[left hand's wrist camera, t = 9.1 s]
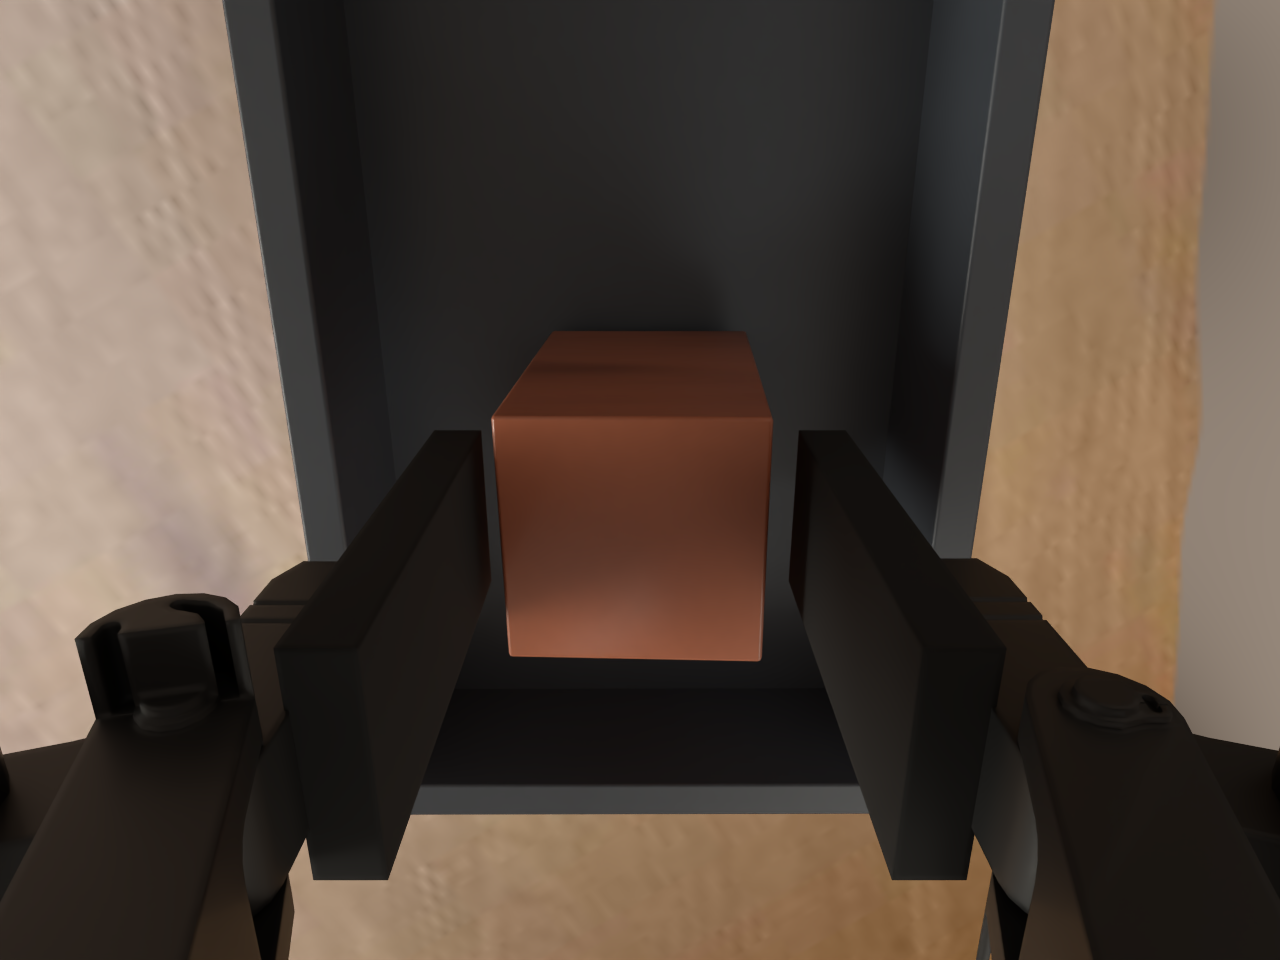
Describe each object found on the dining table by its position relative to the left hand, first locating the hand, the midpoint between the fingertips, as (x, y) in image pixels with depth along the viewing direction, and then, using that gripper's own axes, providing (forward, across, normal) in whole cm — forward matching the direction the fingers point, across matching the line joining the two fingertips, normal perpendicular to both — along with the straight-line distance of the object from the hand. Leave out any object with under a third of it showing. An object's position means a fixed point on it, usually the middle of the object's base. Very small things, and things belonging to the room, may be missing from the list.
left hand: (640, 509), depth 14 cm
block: (+4, 0, 0) cm, 4 cm away
